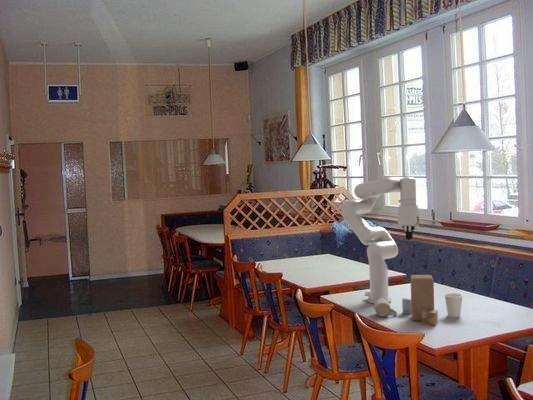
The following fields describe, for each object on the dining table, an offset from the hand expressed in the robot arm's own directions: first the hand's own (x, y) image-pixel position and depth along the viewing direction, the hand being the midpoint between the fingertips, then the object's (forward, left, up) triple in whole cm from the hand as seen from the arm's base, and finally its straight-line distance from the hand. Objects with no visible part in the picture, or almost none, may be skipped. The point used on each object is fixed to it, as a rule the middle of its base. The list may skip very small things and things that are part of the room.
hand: (409, 239), depth 298 cm
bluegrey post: (+3, -8, -35) cm, 36 cm away
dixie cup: (+23, 0, -35) cm, 42 cm away
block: (+14, -13, -35) cm, 40 cm away
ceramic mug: (-4, -18, -35) cm, 40 cm away
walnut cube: (+21, -19, -35) cm, 45 cm away
